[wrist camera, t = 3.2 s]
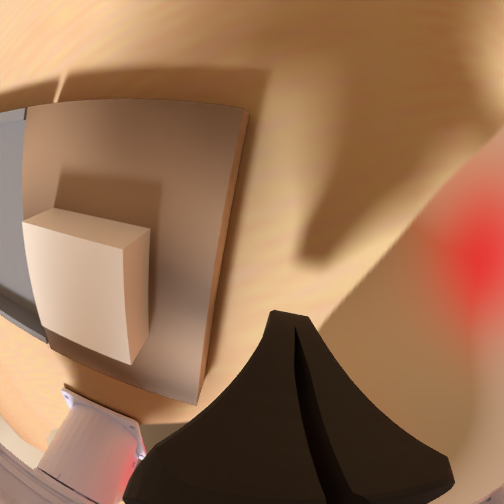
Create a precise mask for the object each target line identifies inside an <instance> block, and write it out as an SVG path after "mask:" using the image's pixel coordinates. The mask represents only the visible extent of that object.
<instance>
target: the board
mask: <svg viewBox="0 0 504 504" xmlns="http://www.w3.org/2000/svg"><path fill="white" fill-rule="evenodd" d="M249 117H250V115H249V114H248V113H247V111H246V110H245V109H244V108H239V107H233V106H226V105H218V104H210V103H201V102H191V101H178V100H162V99H95V100H79V101H68V102H59V103H50V104H43V105H36V106H30V107H28V109H27V116H26V124H25V133H24V144H23V162H22V199H23V217H24V220H26V219H29V218H31V217H33V216H35V215H38V214H40V213H42V212H44V211H47V210H49V209H51V208H58V209H62V210H67V211H72V212H76V213H81V214H86V215H90V216H95V217H99V218H104V219H108V220H113V221H118V222H122V223H127V224H131V225H136V226H141V227H145V228H150V229H151V230H150V247H149V277H148V316H149V336H148V338H147V340H146V341H145V343H144V344H143V346H142V348H141V349H140V351H139V353H138V355H137V356H136V358H135V360H134V361H133V363H132V365H129V364H126V363H124V362H121V361H118V360H116V359H113V358H111V357H108V356H106V355H103V354H101V353H98V352H96V351H94V350H91V349H89V348H87V347H85V346H82V345H80V344H78V343H76V342H74V341H71V340H69V339H67V338H65V337H63V336H61V335H59V334H57V333H55V332H53V331H51V330H49V329H47V328H46V327H44V329H45V332H46V335H47V338H48V341H49V344H50V347H51V349H52V350H54V351H56V352H58V353H60V354H62V355H64V356H66V357H68V358H70V359H72V360H74V361H76V362H78V363H80V364H82V365H84V366H86V367H88V368H91V369H93V370H95V371H97V372H100V373H102V374H104V375H107V376H109V377H112V378H114V379H116V380H119V381H122V382H124V383H127V384H129V385H132V386H135V387H138V388H140V389H143V390H146V391H149V392H152V393H155V394H158V395H161V396H164V397H168V398H171V399H174V400H178V401H181V402H185V403H188V404H192V405H196V406H197V402H198V399H199V395H200V392H201V389H202V385H203V382H204V377H205V370H206V362H207V355H208V348H209V341H210V335H211V328H212V321H213V315H214V308H215V302H216V295H217V289H218V283H219V277H220V271H221V265H222V259H223V253H224V247H225V241H226V236H227V230H228V224H229V219H230V213H231V208H232V202H233V197H234V192H235V186H236V181H237V176H238V171H239V166H240V161H241V156H242V151H243V146H244V141H245V136H246V131H247V126H248V121H249Z"/></svg>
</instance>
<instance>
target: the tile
mask: <svg viewBox="0 0 504 504" xmlns="http://www.w3.org/2000/svg"><path fill="white" fill-rule="evenodd" d="M22 227H23V237H24V245H25V252H26V258H27V264H28V270H29V275H30V280H31V285H32V290H33V294H34V298H35V302H36V306H37V310H38V314H39V317H40V321H41V324H42V326H44V327H46V328H47V329H49V330H51V331H53V332H55V333H57V334H59V335H61V336H63V337H65V338H67V339H69V340H71V341H74V342H76V343H78V344H80V345H82V346H85V347H87V348H89V349H91V350H94V351H96V352H98V353H101V354H103V355H106V356H108V357H111V358H113V359H116V360H118V361H121V362H124V363H126V364H129V365H132V363H133V361H134V360H135V358H136V356H137V355H138V353H139V351H140V349H141V348H142V346H143V344H144V343H145V341H146V340H147V338H148V336H149V316H148V277H149V247H150V230H151V229H150V228H145V227H141V226H136V225H131V224H127V223H122V222H118V221H113V220H108V219H104V218H99V217H95V216H90V215H86V214H81V213H76V212H72V211H67V210H62V209H58V208H51V209H49V210H47V211H44V212H42V213H40V214H38V215H35V216H33V217H31V218H29V219H26V220H24V221H22Z"/></svg>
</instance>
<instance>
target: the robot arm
mask: <svg viewBox="0 0 504 504" xmlns="http://www.w3.org/2000/svg"><path fill="white" fill-rule="evenodd" d="M61 391H62V394H63V396H64V398H65V400H66V402H67V404H68V406H69V408H70V412H69V413H68V415H67V417H66V418H65V420H64V421H63V423H62V425H61V426H60V428H59V430H58V431H57V433H56V435H55V437H54V438H53V440H52V442H51V443H50V445H49V447H48V449H47V450H46V452H45V454H44V456H43V457H42V459H41V461H40V463H39V465H38V467H37V468H35V469H34V470H33V469H32V468H30V467H29V466H27V465H26V464H25V463H24V462H22V461H21V460H19V459H18V458H17V457H16V456H15V455H13V454H12V453H11V452H10V451H9V450H8V449H6V448H5V447H4V446H3V445H2V444H1V443H0V504H117V503H119V502H120V501H121V500H122V499H123V500H124V502H125V504H427V503H429V502H431V501H433V500H435V499H436V498H438V497H440V496H441V495H443V494H445V493H446V492H447V491H449V490H450V489H451V488H452V487H453V485H454V484H455V480H454V477H453V473H452V470H451V466H450V463H449V460H448V458H447V456H445V455H443V454H441V453H439V452H438V451H436V450H434V449H432V448H430V447H429V446H427V445H425V444H423V443H422V442H420V441H419V440H417V439H416V438H414V437H413V436H411V435H410V434H408V433H407V432H406V431H404V430H403V429H402V428H400V427H399V426H398V425H397V424H395V423H394V422H393V421H392V420H390V419H389V418H388V417H387V416H386V415H385V414H384V413H382V412H381V411H380V410H379V409H378V408H377V407H376V406H375V405H374V404H373V403H372V402H371V401H370V400H369V399H368V398H367V397H366V396H365V395H364V394H363V393H362V392H361V391H360V390H359V388H358V387H357V386H356V385H355V384H354V383H353V381H352V380H351V379H350V378H349V377H348V375H347V374H346V373H345V371H344V370H343V369H342V367H341V366H340V365H339V363H338V362H337V361H336V359H335V358H334V356H333V355H332V353H331V352H330V351H329V349H328V347H327V346H326V344H325V343H324V341H323V340H322V338H321V336H320V335H319V333H318V332H317V330H316V328H315V327H314V325H313V323H312V322H311V320H310V319H309V317H308V316H303V315H297V314H292V313H287V312H282V311H277V310H273V311H271V312H270V314H269V317H268V320H267V324H266V327H265V331H264V334H263V337H262V339H261V341H260V343H259V345H258V347H257V348H256V350H255V351H254V353H253V355H252V356H251V358H250V359H249V361H248V362H247V364H246V365H245V366H244V368H243V369H242V370H241V372H240V373H239V374H238V375H237V377H236V378H235V379H234V380H233V381H232V382H231V384H230V385H229V386H228V387H227V388H226V389H225V390H224V391H223V392H222V393H221V394H220V395H219V396H218V397H217V398H216V399H215V400H214V401H213V402H212V403H211V404H210V405H209V406H208V407H206V408H205V409H204V410H203V411H202V412H201V413H199V414H198V415H197V416H196V417H195V418H193V419H192V420H191V421H190V422H188V423H187V424H186V425H184V426H183V427H182V428H180V429H179V430H178V431H176V432H174V433H173V434H171V435H170V436H168V437H167V438H165V439H164V440H162V441H161V442H159V443H158V444H156V445H155V446H154V447H153V448H152V450H150V452H149V453H148V454H147V453H146V450H145V446H144V443H143V439H142V435H141V432H140V428H139V424H138V422H137V421H135V420H134V419H131V418H129V417H126V416H124V415H121V414H119V413H116V412H114V411H112V410H109V409H107V408H105V407H102V406H100V405H98V404H96V403H94V402H92V401H90V400H87V399H85V398H83V397H81V396H79V395H77V394H76V393H74V392H72V391H70V390H68V389H66V388H63V389H62V390H61ZM138 458H139V459H141V460H142V461H141V462H140V463H139V465H138V466H137V467H136V469H135V470H134V468H135V466H136V463H137V460H138ZM133 471H134V472H133ZM473 504H504V484H503V485H501V486H500V487H498V488H497V489H495V490H494V491H492V492H491V493H490V494H489V495H487V496H485V497H483V498H482V499H480V500H478V501H476V502H474V503H473Z"/></svg>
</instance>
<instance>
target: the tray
mask: <svg viewBox="0 0 504 504" xmlns="http://www.w3.org/2000/svg"><path fill="white" fill-rule="evenodd" d="M27 109H28V108H21V109H16V110H11V111H6V112H2V113H0V315H1V316H3V317H4V318H6V319H7V320H9V321H10V322H12V323H13V324H15V325H16V326H18V327H19V328H21V329H23V330H24V331H26V332H28V333H29V334H31V335H33V336H34V337H36V338H38V339H39V340H41V341H43V342H45V343H46V344H48V343H49V341H48V338H47V335H46V332H45V329H44V326H42V324H41V321H40V317H39V314H38V310H37V306H36V302H35V298H34V294H33V290H32V285H31V280H30V275H29V270H28V264H27V258H26V252H25V245H24V237H23V227H22V221H24V217H23V199H22V162H23V144H24V133H25V124H26V116H27Z"/></svg>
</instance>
